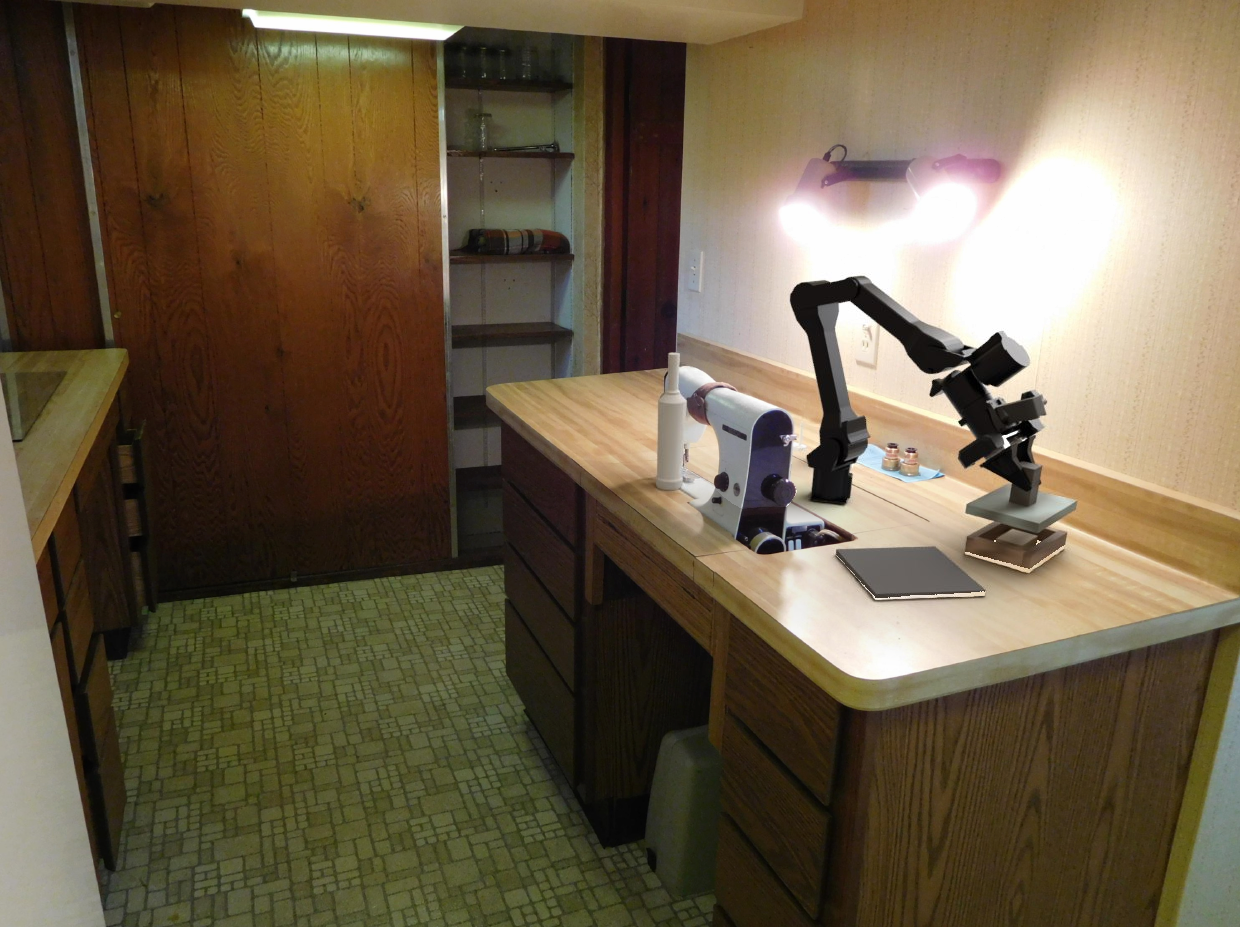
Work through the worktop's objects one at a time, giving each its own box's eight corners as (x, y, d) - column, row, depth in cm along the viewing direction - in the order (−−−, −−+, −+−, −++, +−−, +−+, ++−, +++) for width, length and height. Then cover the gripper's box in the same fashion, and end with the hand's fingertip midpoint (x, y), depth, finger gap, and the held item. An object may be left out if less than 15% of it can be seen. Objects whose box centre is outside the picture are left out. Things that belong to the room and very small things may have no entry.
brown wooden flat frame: (964, 554, 144) (966, 536, 143) (1002, 532, 153) (1005, 515, 152) (1028, 573, 137) (1031, 555, 136) (1064, 549, 147) (1067, 531, 146)
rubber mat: (835, 555, 142) (836, 549, 142) (934, 552, 144) (935, 546, 144) (875, 600, 127) (876, 593, 127) (985, 596, 129) (986, 590, 129)
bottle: (650, 487, 171) (654, 354, 164) (662, 480, 176) (667, 350, 168) (675, 492, 169) (681, 357, 162) (687, 484, 173) (693, 353, 166)
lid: (965, 513, 142) (971, 466, 140) (1006, 492, 152) (1013, 448, 150) (1037, 533, 134) (1045, 484, 132) (1075, 509, 145) (1084, 463, 142)
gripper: (989, 382, 133) (1055, 473, 129) (1041, 366, 146) (1102, 449, 142) (931, 424, 141) (991, 511, 137) (985, 405, 154) (1041, 484, 150)
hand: (1034, 487), depth 141 cm, fingers closed on lid, 3 cm apart
